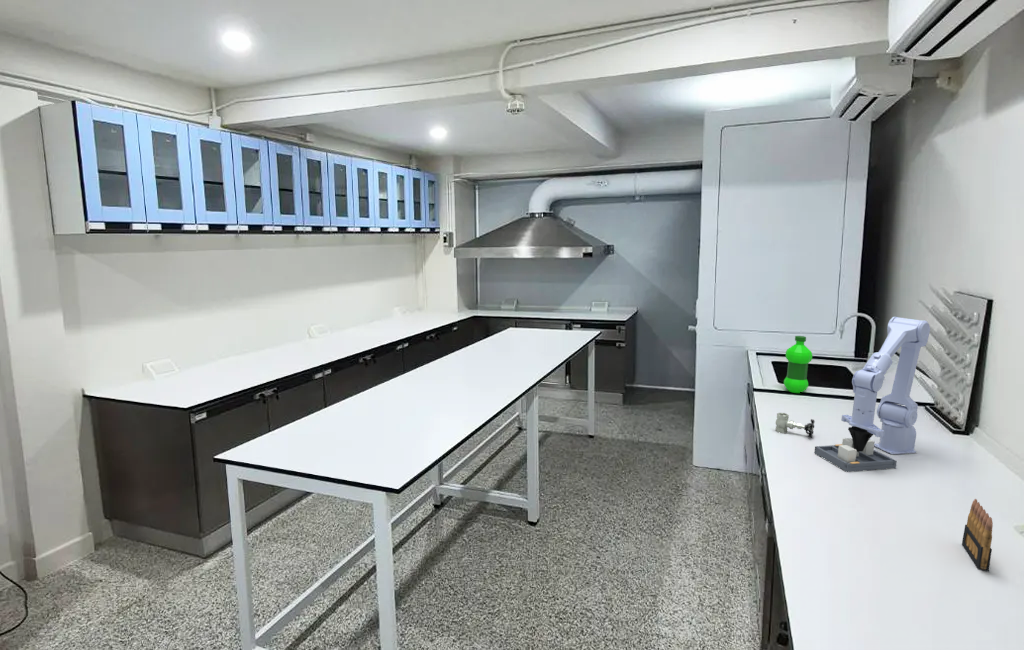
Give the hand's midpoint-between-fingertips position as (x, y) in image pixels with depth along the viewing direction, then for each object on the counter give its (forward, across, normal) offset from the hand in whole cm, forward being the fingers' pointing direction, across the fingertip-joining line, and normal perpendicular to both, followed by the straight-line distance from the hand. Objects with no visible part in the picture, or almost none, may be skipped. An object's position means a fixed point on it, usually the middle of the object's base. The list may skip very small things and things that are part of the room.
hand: (858, 450), depth 173 cm
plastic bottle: (+4, -72, +31) cm, 78 cm away
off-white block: (+2, -3, 0) cm, 4 cm away
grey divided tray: (+4, -1, 0) cm, 4 cm away
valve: (+4, -25, -4) cm, 26 cm away
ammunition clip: (+4, +49, -13) cm, 51 cm away
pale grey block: (+3, -4, +6) cm, 7 cm away
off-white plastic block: (+2, +2, -5) cm, 6 cm away
